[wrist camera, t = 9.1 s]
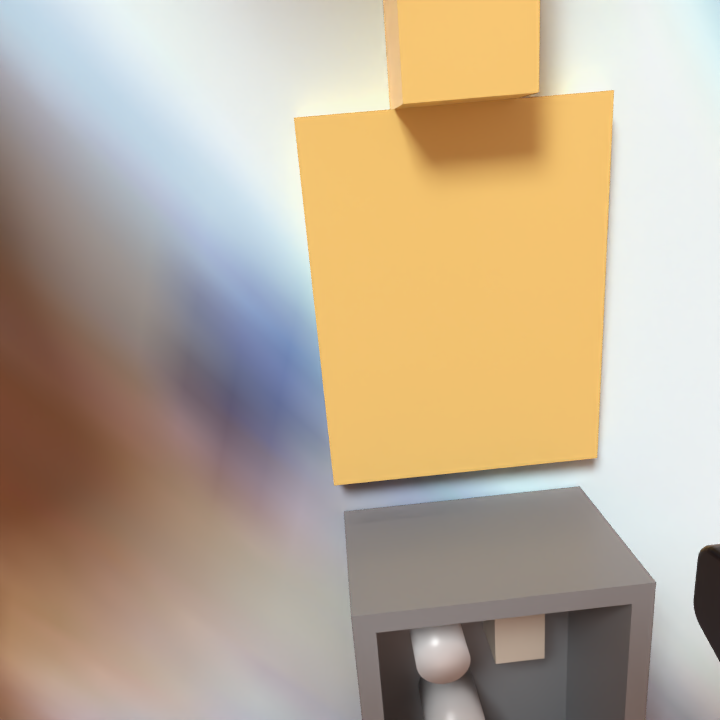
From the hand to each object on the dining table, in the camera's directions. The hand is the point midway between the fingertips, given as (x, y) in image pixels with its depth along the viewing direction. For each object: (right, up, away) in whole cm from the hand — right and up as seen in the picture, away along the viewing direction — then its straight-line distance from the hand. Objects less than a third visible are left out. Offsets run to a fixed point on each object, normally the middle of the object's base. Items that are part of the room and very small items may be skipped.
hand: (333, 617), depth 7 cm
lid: (+3, +7, +11) cm, 13 cm away
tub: (+4, -6, +15) cm, 17 cm away
